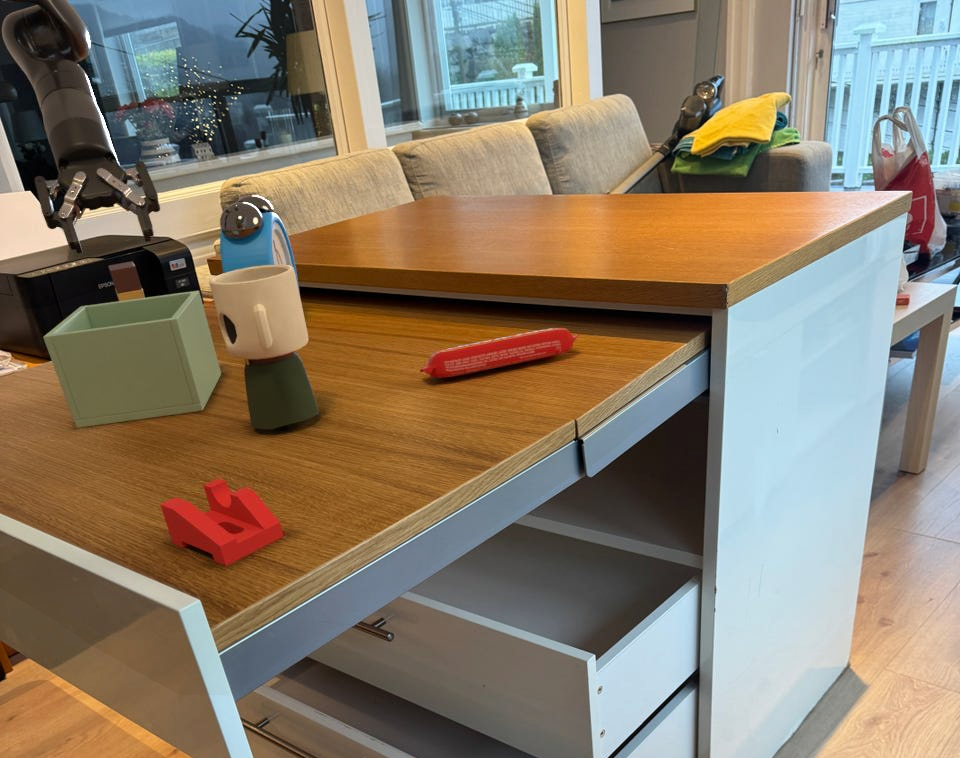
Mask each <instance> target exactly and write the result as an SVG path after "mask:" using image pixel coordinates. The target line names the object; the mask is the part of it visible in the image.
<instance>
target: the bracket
mask: <svg viewBox="0 0 960 758" xmlns="http://www.w3.org/2000/svg"><path fill="white" fill-rule="evenodd" d="M203 489H204V492H205V496H206V499H207V502H208V504H209V508H210V510H208V511H206V512H203V511H202V510H200V509H199V508H197V506H195V505H194V504H193V503H191V502H190V501H188V500H184V499H182V498H179V497H176V496H175V497H173V498H171V499H169V500H167V501H164V502H162V503H160V504H159V505H160V508H161V511H162V514H163V517H164V520H165V523H166V526H167V530H168V532H169V535H170V539H171V542H172V544H173V545H176V546H178V547H180V548H183V549H184V548H187V547H189V546H193V547H195V548H197V549H199V550H202V551H204V552H206V553H209V554H211V555H212V558H213V561H214V562H216V563H218V564H220V565H223V566H225V567H227V566H229V565H231V564H233V563H235V562H237V561H238V560H241V559H242V558H245V557H246V556H248V555H250V554H252V553H254V552H256V551H258V550H260V549H262V548H265V547H266V546H268V545H269V544H272V543H274V542H276V541H277V540H279V539H281V538H284V534H283V530H282V525H281V522H280V520H279V519H278V518H277V517H276V516H275V515H274V514H273V512H272V511H271V510H270V509H269V507H268V506H267V505H266V504H265V503H264V501H263V500H262V499H261V498H260V496H259V495H258V494H257V493H256V491H255V490H254V489H252V488H249V487H242V488H240V489H238V490H236V491H234V492H231V490H230V488H229V486H228V484H227V480H224V479H221V478H217V479H214V480H212V481H209V482H208V483H205V484H203Z"/></svg>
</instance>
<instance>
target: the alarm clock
mask: <svg viewBox="0 0 960 758" xmlns="http://www.w3.org/2000/svg"><path fill="white" fill-rule="evenodd" d="M219 228H220V235H219V236H220V237H219V249H220V262H221V267H222V274H223V273H227V272H230V271H234V270H239V269H244V268H248V267H254V266H263V265H290V266H292V267H293V268H294V271H295V275H296V280H297V285H298V289H299V290H300V286H299V278H298V272H297V266H296V262H295V257H294V253H293V252H294V251H293V249H292V245H291V241H290V238H289V236H288V231H287V229H286V227H285V225H284V222H283V221H282V219H281V218H280V216H279V215H278V214H277V213H275V210H274V207H273V205H272V204H271V203H270V201H269V200H267V199H265V197H263V196H259V195H254V194H249V195H245V196H242V197H240V198H239V199H238V200H237V201H236V202H234V203H231V204H229V205H228V206H227V207H225V208H224V209H223V211H222V213H221V215H220V217H219Z"/></svg>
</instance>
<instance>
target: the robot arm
mask: <svg viewBox="0 0 960 758" xmlns="http://www.w3.org/2000/svg"><path fill="white" fill-rule="evenodd" d="M3 1H4V2H8V3H31V4H34V5H32V6H29V7H26V8H23V9H19V10H15V11H13V12H11V13H8V15H6V16H5V17H4V19H3V22H2V25H1V34H2V40H3V42H4V44H5V47H6V49H7V51H8V52H9V53H10V55H11V57H12V58H13V59H14V61H15V62H16V64H17V65H18V66H19V68H20V69H21V71H23V73H24V74H25V75H26V77H27V79H28V80H29V82H30V84H31V86H32V88H33V91H34V93H35V95H36V99H37V102H38V105H39V109H40V112H41V114H42V120H43V126H44V131H45V134H46V137H47V141H48V142H47V143H48V144H49V146H50V149H51V152H52V155H53V158H54V162H55V165H56V168H57V171H58V176H57V179H51V180H50V179H49V180H46V179H45V177H44V176H42V175H38V176H36V177H34V184H35V188H36V193H37V197H38V201H39V205H40V209H41V214H42V216H43V219H44V221H45V224H46V227H47V228H48V229H49V230H55V229H56V228H60V229H62V230H63V233H64V237H65V239H66V243H67V246H68V248H69V249H70V250H71V251H74V250H75V252H76V254H83V253H84V252H83V249H82V246H81V243H80V239H79V236H78V233H77V229H76V227H75V226H76V224H77V222H78V220H81V218H82V217H83V214H84V213H85V212H86V209H88V211H90V212H91V211H96V210H99V209H102V208H107V209H108V208H115V205H117V206H119V207H120V208H122V209H123V210H125V211H127V212H131V213H133V214H134V215H136V217H137V221H138V223H139V226H140V230H141V234H142V235H143V239H144V242H145V243H147V242H151V241H152V240H151V237H154V235H155V231H154V226H153V223H152V220H151V217H150V214H151V213H152V212H153V213H158V212H160V211H161V205H160V202H159V195H158V192H157V190H156V188H155V185H154V183H153V181H152V180H153V179H152V178H151V175H150V173H149V171H148V168H147V166H146V164H145V162H144V161H142V160H138V161H136V162H135V163H134V165H135V166H134V167H131V168H130V167H129V168H123V167H122V166H121V165H120V162H119V161H118V157H117V154H116V152H115V148H114V146H113V143H112V142H113V141H112V140H111V137H110V132H109V130H108V128H107V125H106V122H105V119H104V116H103V115H102V113H101V110H100V108H99V106H98V104H97V100H96V97H95V95H94V92H93V88H92V86H91V82H90V80H89V78H88V75H87V73H86V72H85V70H84V69H83V68H82V67H81V65H80V64H78V63H79V62H81V61H83V60H85V59H86V58H87V57H88V55H89V53H90V49H91V40H90V35H89V34H90V33H89V31H88V28H87V26H86V24H85V22H84V21H83V19H82V18H81V16H80V15H79V14H78V12H77V11H76V9H75V8H74V6H72V5H71V3H70V2H69V1H68V0H3ZM128 181H131V182H133V183H134V185H135V186H137V187H138V188H141V189H142V191H143V194H144V196H145V197H143V196H140V195H139V194H137V193H136V192H135V191H133V190H132V189H131V187H130V186H129V185H127V184H128ZM59 192H61V193H62V194H64V197H63V203H62V205H61V207H60V209H59V211H56V210H55V209H54V204H53V202H55V201H56V198H57V195H58V193H59Z"/></svg>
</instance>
